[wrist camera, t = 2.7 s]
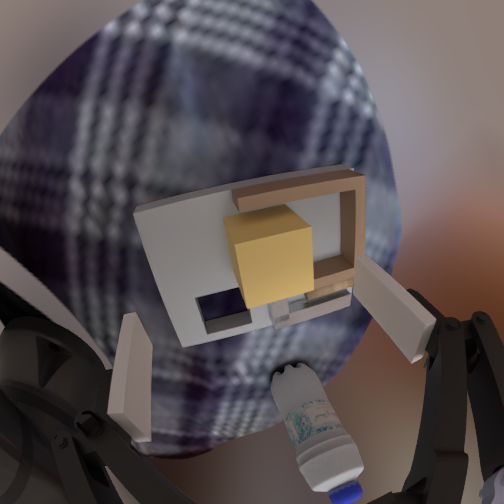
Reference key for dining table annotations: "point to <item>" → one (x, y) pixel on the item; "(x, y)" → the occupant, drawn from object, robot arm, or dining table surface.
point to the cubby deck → (217, 251)
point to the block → (270, 254)
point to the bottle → (317, 434)
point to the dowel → (329, 289)
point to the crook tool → (306, 308)
